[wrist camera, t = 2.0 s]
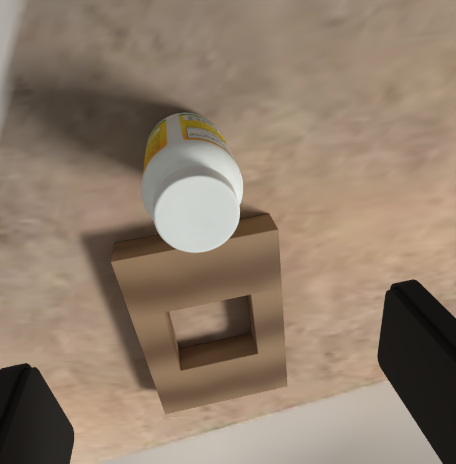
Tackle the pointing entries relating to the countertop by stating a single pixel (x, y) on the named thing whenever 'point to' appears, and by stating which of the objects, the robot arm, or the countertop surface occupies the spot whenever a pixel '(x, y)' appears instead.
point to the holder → (202, 292)
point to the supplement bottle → (191, 183)
